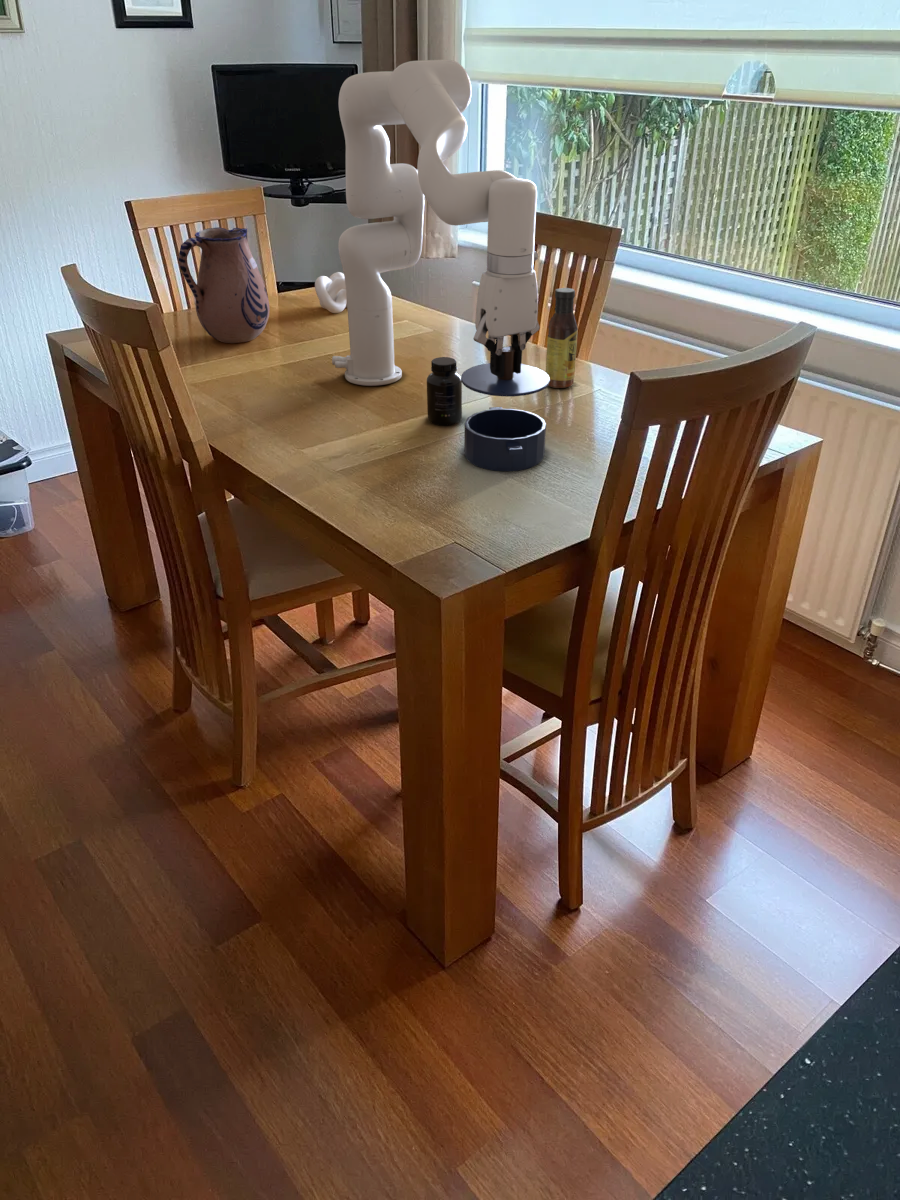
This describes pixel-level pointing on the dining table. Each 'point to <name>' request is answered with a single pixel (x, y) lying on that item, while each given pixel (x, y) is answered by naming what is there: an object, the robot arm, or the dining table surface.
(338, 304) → the white knot sculpture
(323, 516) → the dining table surface
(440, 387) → the supplement bottle
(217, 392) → the dining table surface
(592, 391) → the dining table surface
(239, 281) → the ceramic pitcher
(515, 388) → the pan lid
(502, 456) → the pan
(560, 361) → the sauce bottle
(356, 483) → the dining table surface
